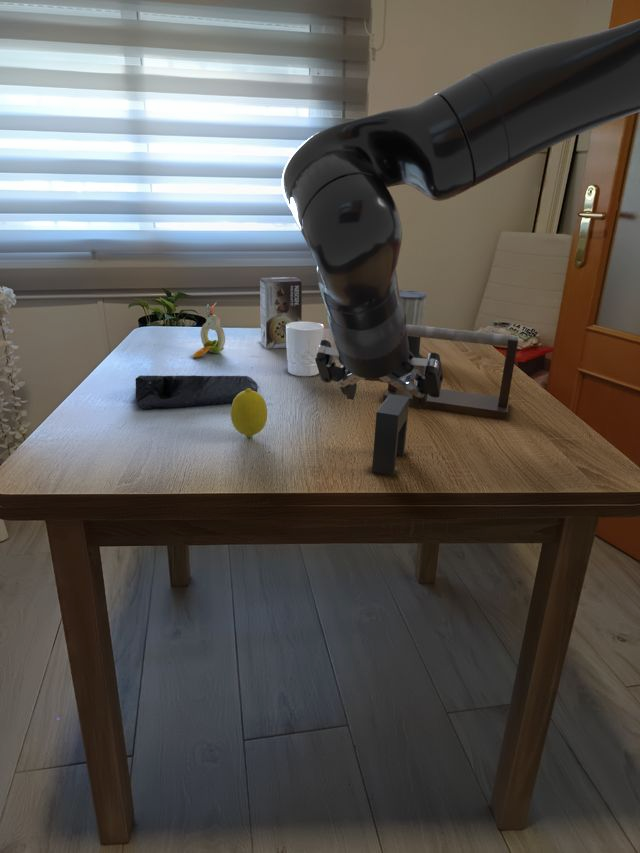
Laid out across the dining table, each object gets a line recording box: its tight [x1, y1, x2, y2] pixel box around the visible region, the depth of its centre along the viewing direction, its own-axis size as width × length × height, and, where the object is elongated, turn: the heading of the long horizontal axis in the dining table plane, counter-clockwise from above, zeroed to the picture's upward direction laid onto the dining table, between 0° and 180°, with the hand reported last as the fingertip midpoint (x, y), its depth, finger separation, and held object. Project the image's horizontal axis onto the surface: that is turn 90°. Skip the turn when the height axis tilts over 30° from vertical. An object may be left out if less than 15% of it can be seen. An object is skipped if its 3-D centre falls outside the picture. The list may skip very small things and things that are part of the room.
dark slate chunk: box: [134, 374, 259, 410], centre depth 105 cm, size 15×22×5 cm
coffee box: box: [259, 276, 303, 350], centre depth 139 cm, size 9×6×16 cm
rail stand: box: [382, 324, 520, 421], centre depth 104 cm, size 22×8×14 cm, turn 71°
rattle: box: [192, 301, 226, 359], centre depth 131 cm, size 8×8×12 cm
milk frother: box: [399, 289, 428, 358], centre depth 132 cm, size 14×16×15 cm
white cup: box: [286, 320, 325, 377], centre depth 120 cm, size 8×8×10 cm
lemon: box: [230, 388, 268, 439], centre depth 88 cm, size 6×6×8 cm
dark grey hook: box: [371, 394, 410, 477], centre depth 81 cm, size 3×8×9 cm, turn 161°
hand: (385, 397), depth 72 cm, fingers open, 8 cm apart
